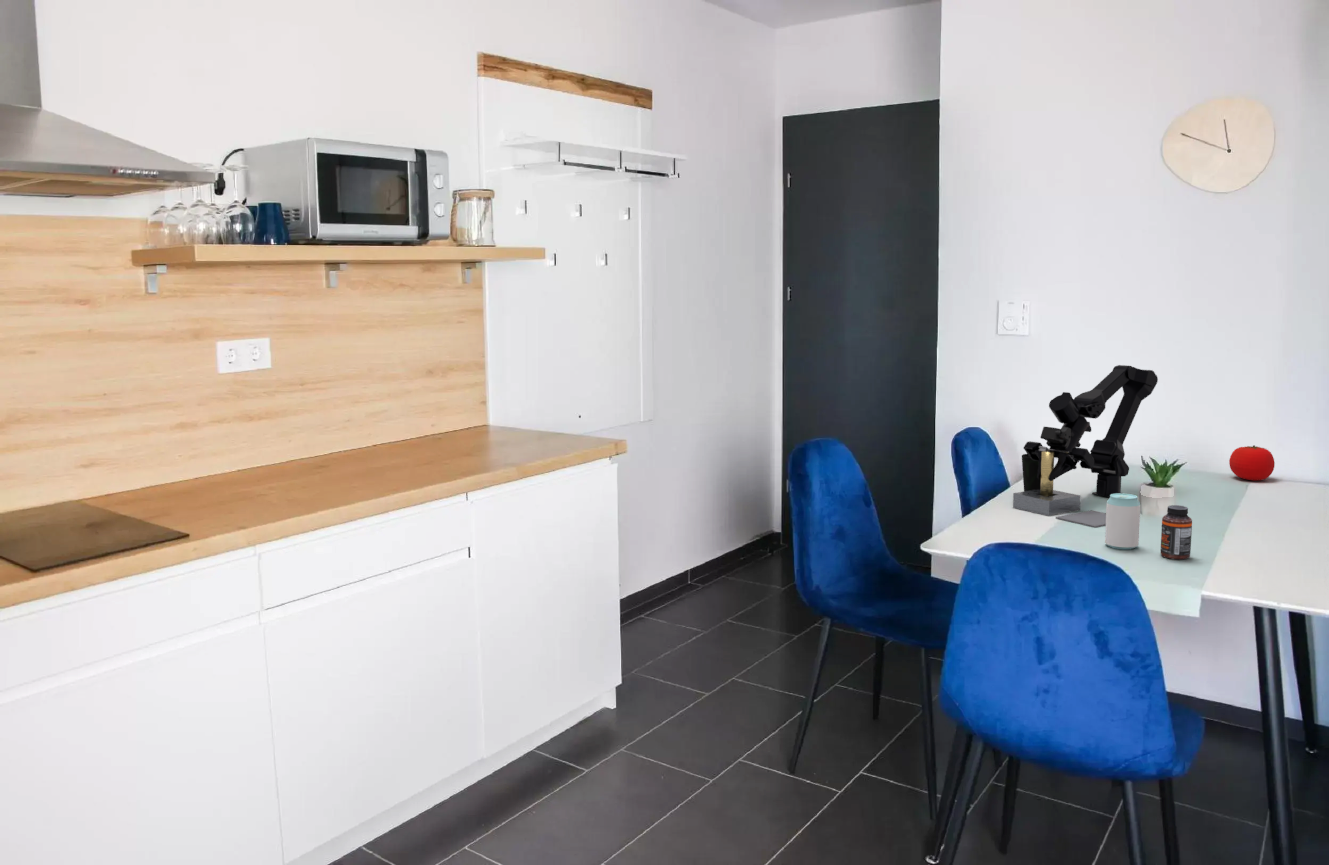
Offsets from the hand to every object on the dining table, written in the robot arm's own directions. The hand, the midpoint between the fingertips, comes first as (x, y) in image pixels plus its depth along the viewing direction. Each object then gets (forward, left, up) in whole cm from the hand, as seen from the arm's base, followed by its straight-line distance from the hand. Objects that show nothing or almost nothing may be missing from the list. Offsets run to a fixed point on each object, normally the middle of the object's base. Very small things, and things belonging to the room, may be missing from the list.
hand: (1044, 479), depth 268 cm
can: (+16, +36, -9) cm, 40 cm away
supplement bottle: (+14, +48, -9) cm, 51 cm away
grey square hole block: (-1, 0, -8) cm, 8 cm away
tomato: (-82, +7, -9) cm, 83 cm away
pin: (-1, 0, -7) cm, 7 cm away
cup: (-11, -12, -9) cm, 18 cm away
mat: (-1, +15, -8) cm, 17 cm away
